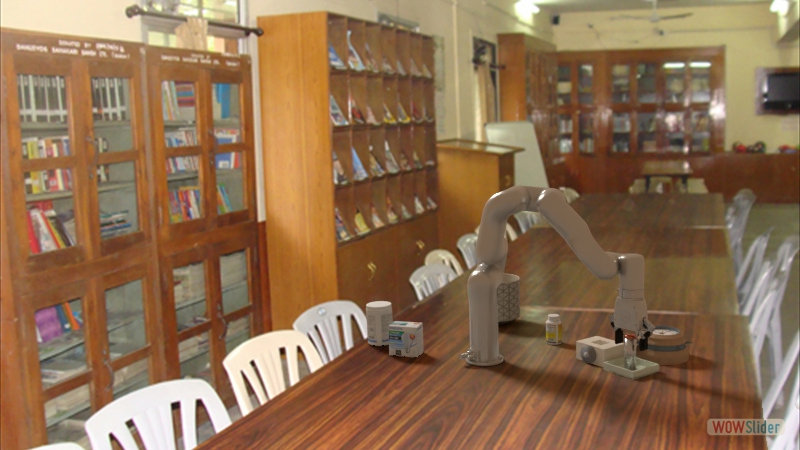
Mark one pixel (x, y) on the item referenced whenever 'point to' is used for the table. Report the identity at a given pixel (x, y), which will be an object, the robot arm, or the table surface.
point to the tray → (641, 370)
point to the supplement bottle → (553, 330)
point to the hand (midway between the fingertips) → (631, 346)
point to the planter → (508, 299)
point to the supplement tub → (378, 322)
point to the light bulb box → (406, 339)
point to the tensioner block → (598, 350)
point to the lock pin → (630, 351)
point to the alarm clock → (664, 346)
